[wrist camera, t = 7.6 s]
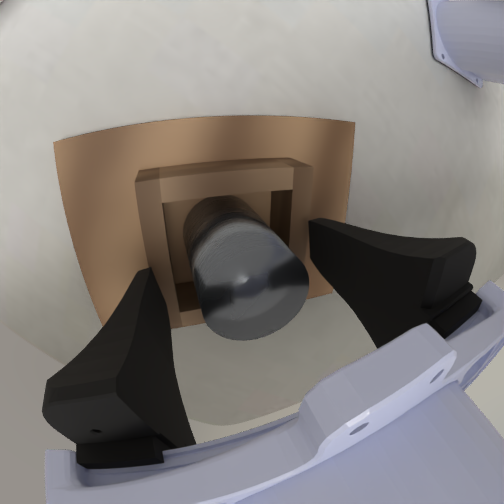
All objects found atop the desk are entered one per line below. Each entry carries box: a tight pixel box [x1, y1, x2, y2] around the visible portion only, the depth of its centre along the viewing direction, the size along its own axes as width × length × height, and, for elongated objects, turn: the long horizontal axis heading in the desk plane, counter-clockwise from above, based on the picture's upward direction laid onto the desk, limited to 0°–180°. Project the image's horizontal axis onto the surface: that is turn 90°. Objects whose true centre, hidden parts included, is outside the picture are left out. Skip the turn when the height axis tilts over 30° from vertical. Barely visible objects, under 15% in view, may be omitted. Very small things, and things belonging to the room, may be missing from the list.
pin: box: [183, 195, 309, 340], centre depth 12 cm, size 4×4×6 cm
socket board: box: [53, 116, 355, 329], centre depth 14 cm, size 16×12×4 cm
